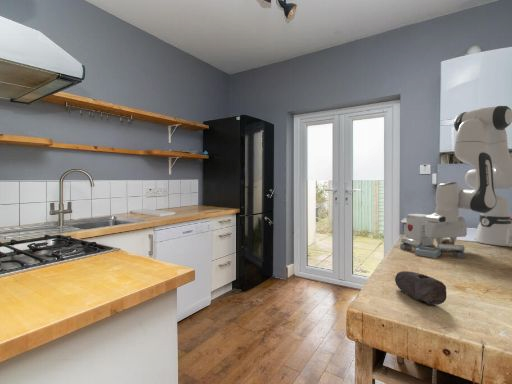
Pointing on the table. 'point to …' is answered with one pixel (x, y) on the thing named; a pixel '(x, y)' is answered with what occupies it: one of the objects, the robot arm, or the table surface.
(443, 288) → the perforated stone tool
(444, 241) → the block
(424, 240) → the supplement box
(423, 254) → the housing
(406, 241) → the shaft
